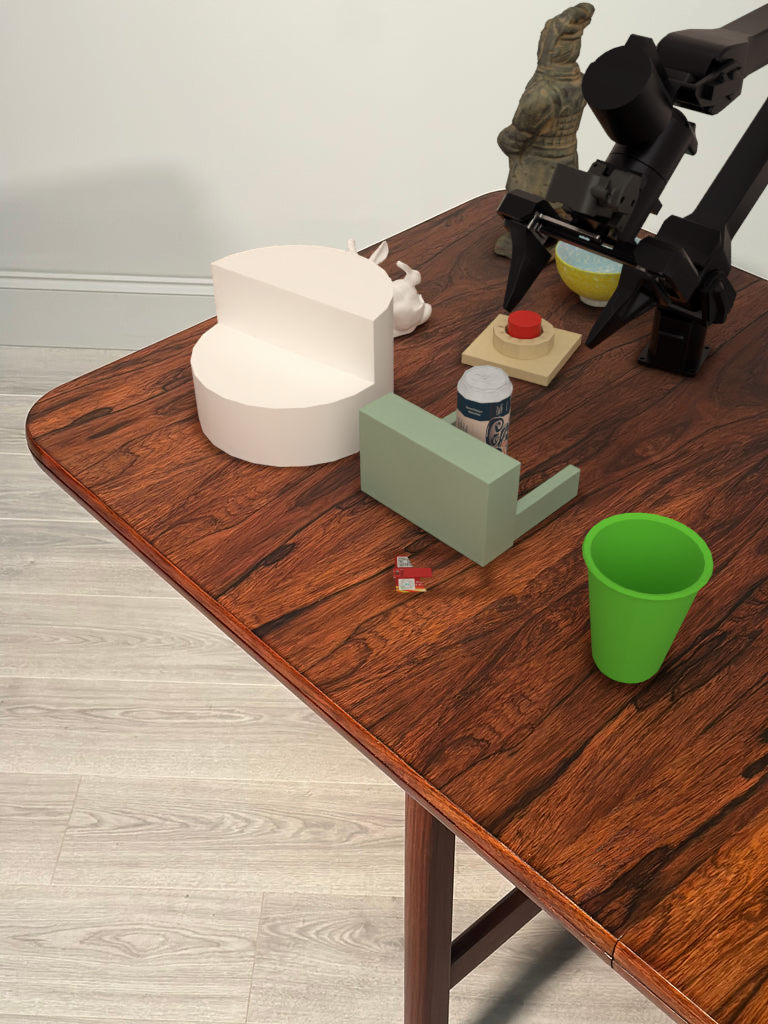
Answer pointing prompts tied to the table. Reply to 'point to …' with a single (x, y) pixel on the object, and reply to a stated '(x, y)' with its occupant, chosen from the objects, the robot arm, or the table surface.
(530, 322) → the button
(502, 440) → the beer can
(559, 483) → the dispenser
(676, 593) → the cup
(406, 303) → the rabbit figurine
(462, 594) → the table surface
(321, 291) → the white stepped cylinder
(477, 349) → the button box
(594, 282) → the bowl
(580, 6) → the statue
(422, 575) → the toy pistol
